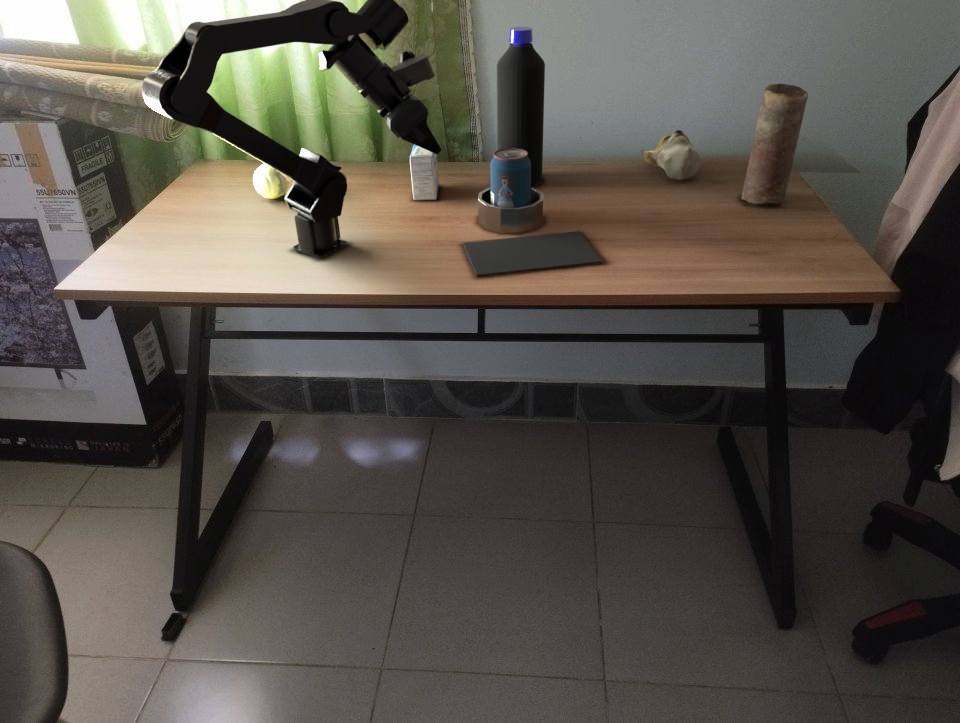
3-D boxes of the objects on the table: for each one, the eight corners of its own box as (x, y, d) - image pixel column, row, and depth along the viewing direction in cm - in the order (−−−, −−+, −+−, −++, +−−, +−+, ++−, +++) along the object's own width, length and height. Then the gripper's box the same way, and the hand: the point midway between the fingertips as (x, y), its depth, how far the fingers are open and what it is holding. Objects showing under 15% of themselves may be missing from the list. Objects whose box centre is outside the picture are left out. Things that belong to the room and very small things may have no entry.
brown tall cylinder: (779, 194, 138) (803, 83, 127) (789, 209, 132) (815, 93, 121) (737, 194, 139) (757, 83, 128) (745, 209, 133) (766, 93, 122)
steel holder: (521, 238, 124) (521, 213, 122) (466, 224, 130) (465, 200, 127) (553, 216, 132) (554, 191, 129) (500, 204, 137) (500, 180, 135)
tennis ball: (271, 206, 139) (265, 171, 135) (248, 199, 142) (241, 165, 138) (297, 196, 143) (292, 162, 139) (274, 189, 146) (268, 156, 143)
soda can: (523, 210, 134) (524, 145, 128) (535, 225, 129) (537, 157, 122) (486, 215, 133) (485, 149, 126) (497, 230, 127) (496, 161, 121)
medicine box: (436, 200, 139) (433, 155, 135) (412, 201, 140) (409, 155, 135) (439, 185, 146) (436, 141, 141) (416, 186, 146) (413, 142, 141)
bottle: (538, 189, 143) (542, 33, 128) (494, 187, 145) (492, 32, 129) (544, 174, 150) (548, 24, 135) (501, 172, 152) (501, 24, 136)
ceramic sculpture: (663, 139, 138) (640, 122, 151) (658, 185, 143) (636, 164, 156) (718, 137, 139) (691, 120, 152) (711, 183, 144) (686, 162, 157)
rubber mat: (476, 277, 113) (476, 274, 112) (463, 245, 123) (462, 242, 122) (602, 263, 116) (602, 261, 116) (579, 233, 126) (579, 230, 125)
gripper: (415, 41, 105) (484, 122, 114) (393, 27, 121) (455, 99, 129) (359, 97, 107) (431, 173, 115) (345, 76, 123) (410, 144, 131)
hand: (433, 145), depth 123 cm, fingers open, 9 cm apart
